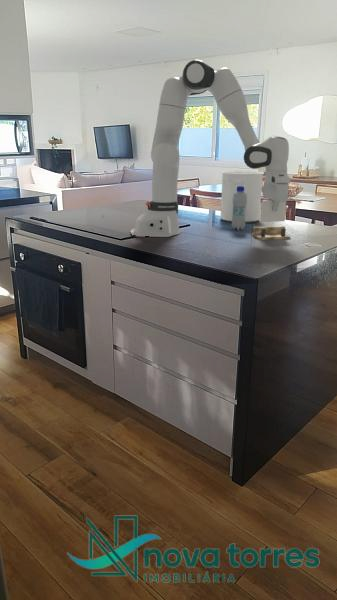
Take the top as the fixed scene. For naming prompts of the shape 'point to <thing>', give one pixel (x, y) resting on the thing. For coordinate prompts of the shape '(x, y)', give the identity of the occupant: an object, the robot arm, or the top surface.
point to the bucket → (251, 188)
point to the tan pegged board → (270, 233)
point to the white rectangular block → (270, 215)
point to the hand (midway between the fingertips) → (273, 210)
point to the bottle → (239, 208)
